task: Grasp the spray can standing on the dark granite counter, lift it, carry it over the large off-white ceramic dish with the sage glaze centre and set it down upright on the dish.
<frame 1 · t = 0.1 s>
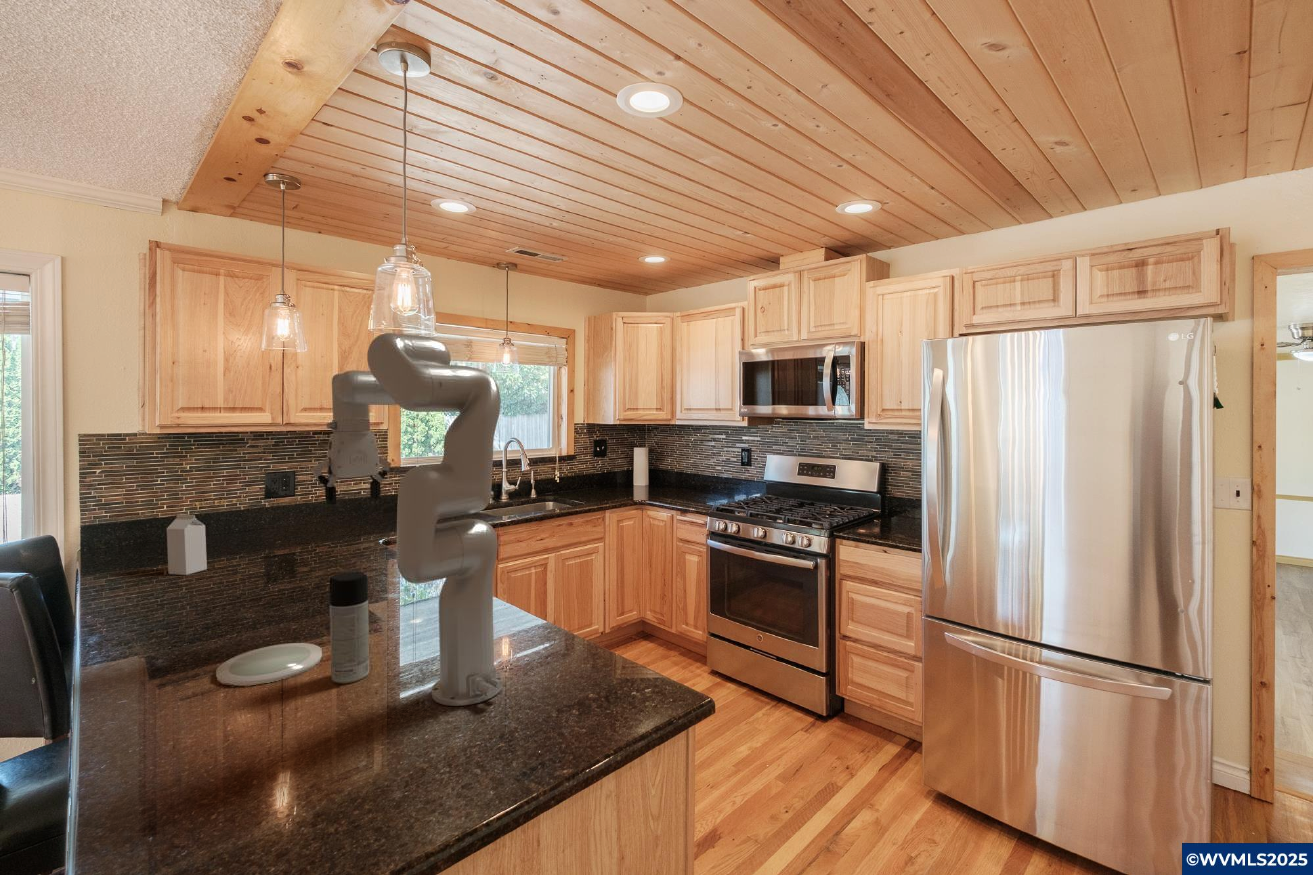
hand: (354, 501, 135), 31 cm above the counter, tool pointing down, fingers open, 9 cm apart
milk carton: (188, 572, 193), on the counter
dish: (271, 666, 120), on the counter
spray can: (351, 677, 114), on the counter
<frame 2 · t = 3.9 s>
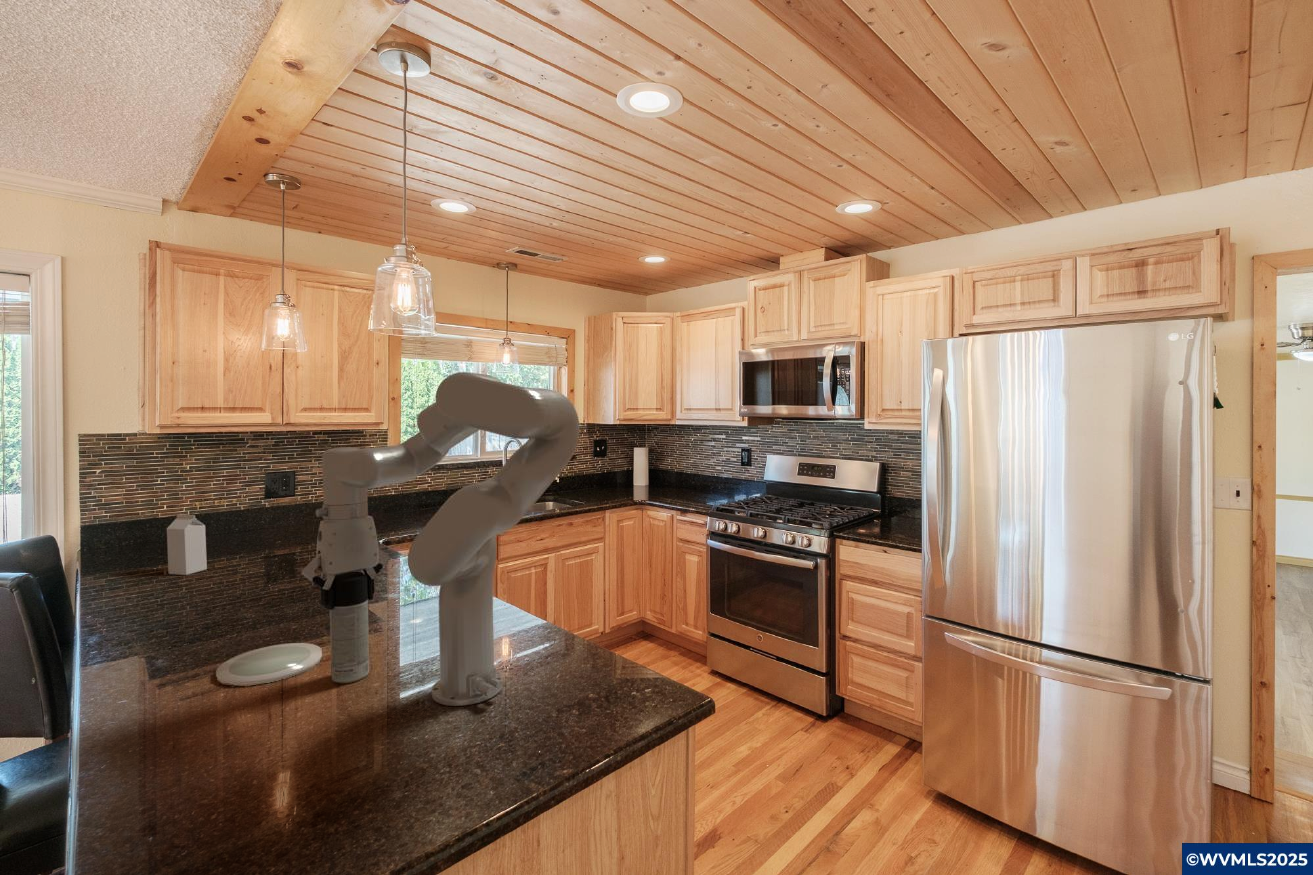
hand: (348, 602, 114), 15 cm above the counter, tool pointing down, fingers closed on spray can, 6 cm apart
spray can: (351, 677, 114), on the counter, touching gripper
everything else where it was.
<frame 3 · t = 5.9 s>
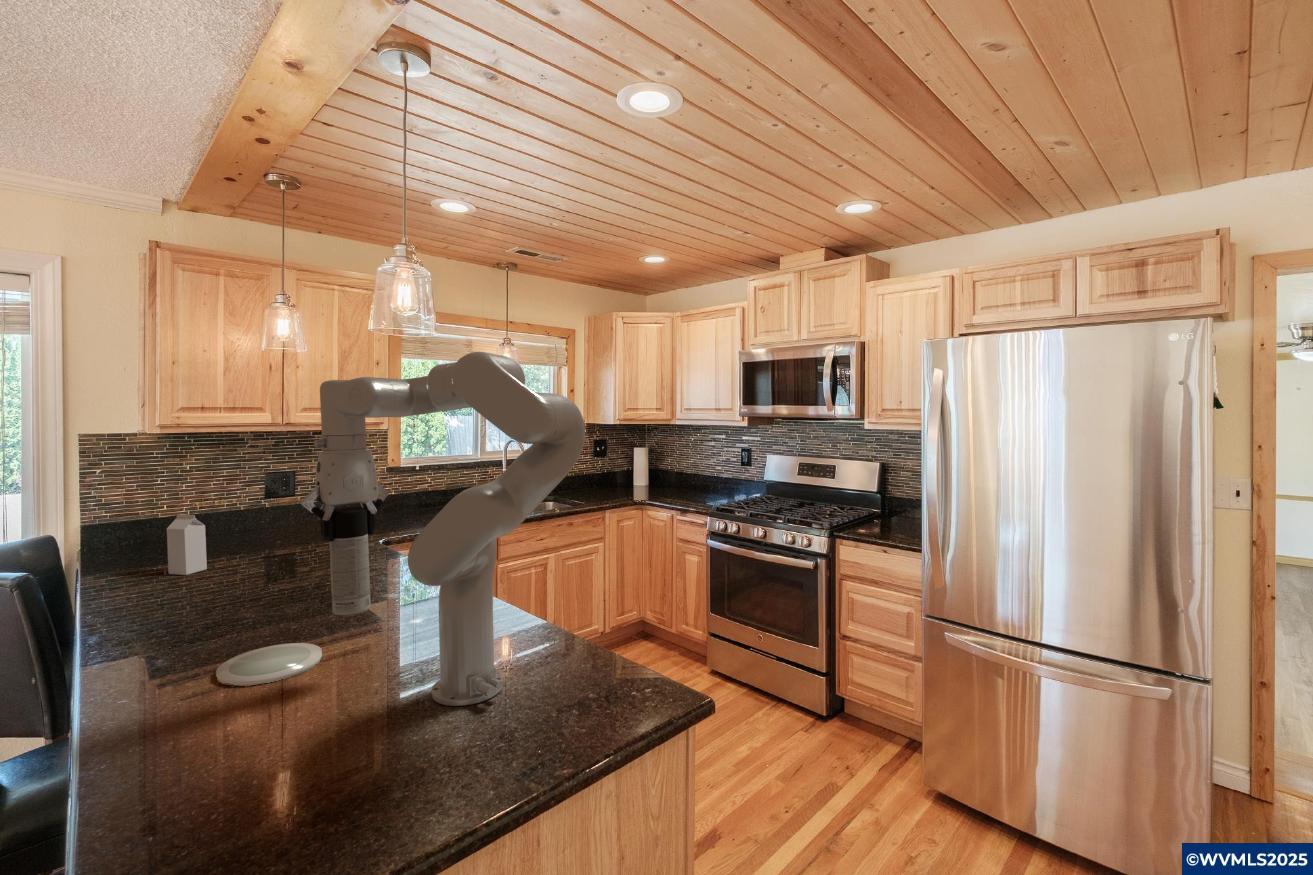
hand: (348, 536, 113), 28 cm above the counter, tool pointing down, fingers closed on spray can, 6 cm apart
spray can: (352, 612, 114), point 13 cm above the counter, touching gripper
everything else where it was.
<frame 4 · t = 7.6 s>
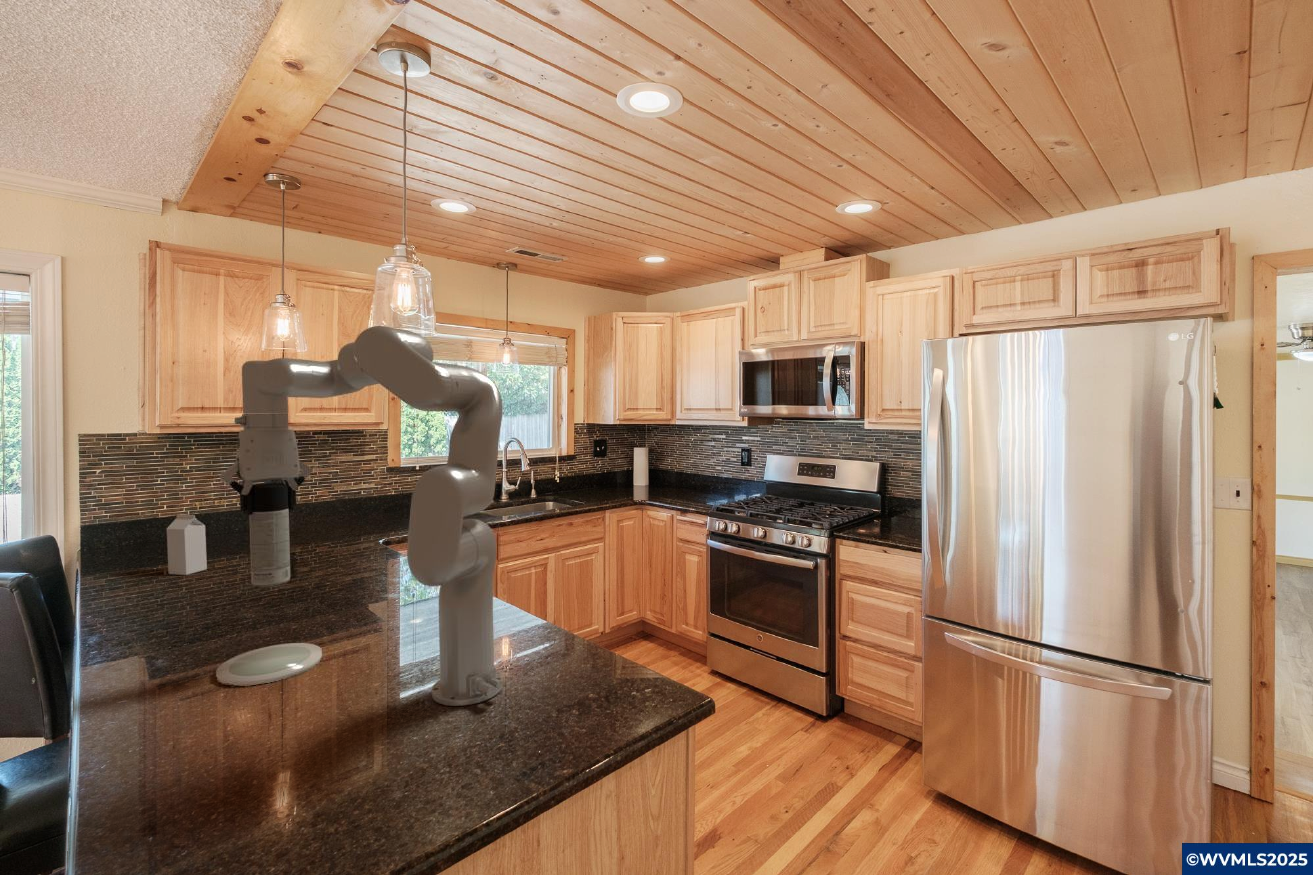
hand: (269, 510, 118), 32 cm above the counter, tool pointing down, fingers closed on spray can, 6 cm apart
spray can: (271, 583, 119), point 17 cm above the counter, touching gripper
everything else where it was.
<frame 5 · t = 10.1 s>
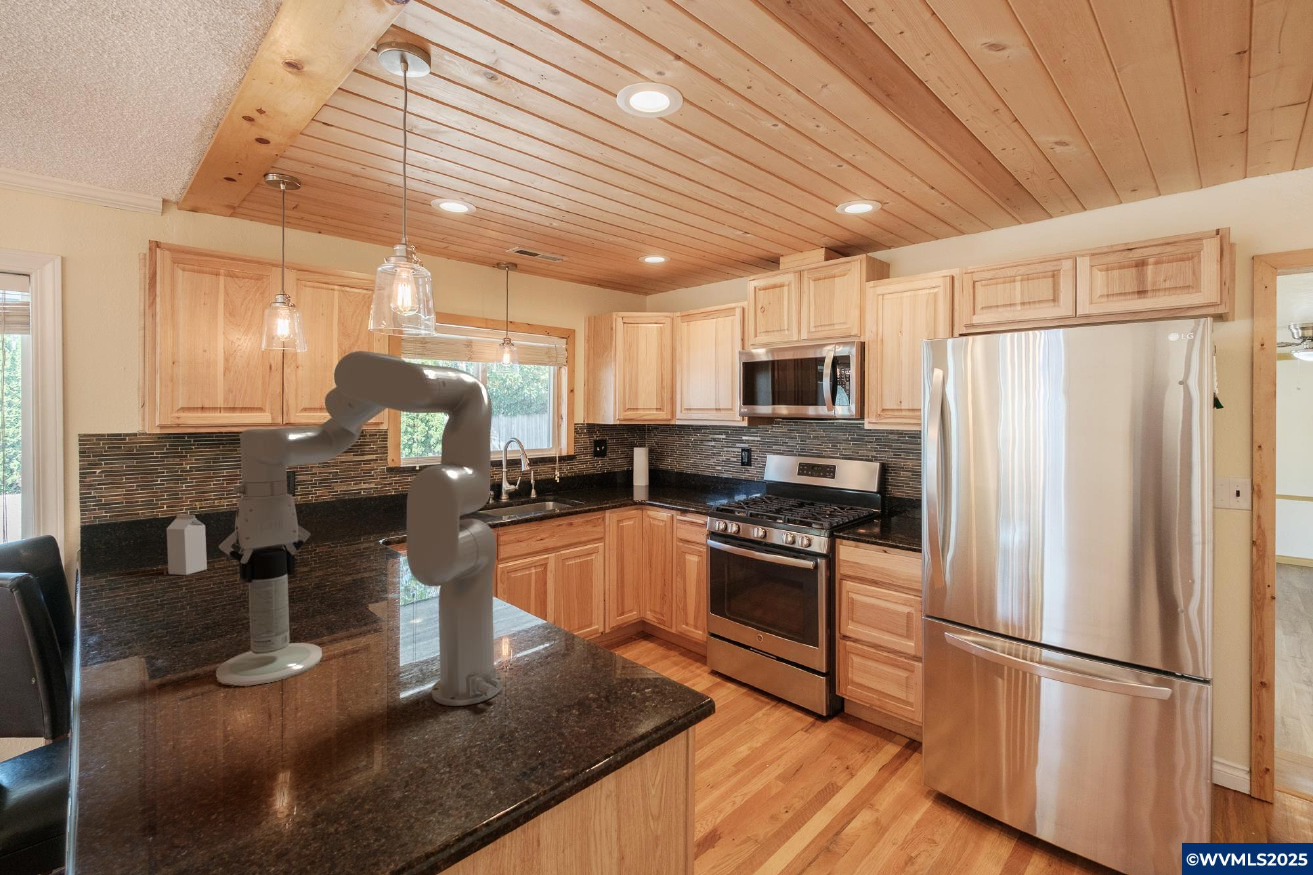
hand: (268, 576, 119), 18 cm above the counter, tool pointing down, fingers closed on spray can, 6 cm apart
spray can: (270, 648, 119), point 4 cm above the counter, touching gripper
everything else where it was.
when the fingers open (17 cm above the counter, at t = 11.3 s): spray can drops 1 cm, resting on dish.
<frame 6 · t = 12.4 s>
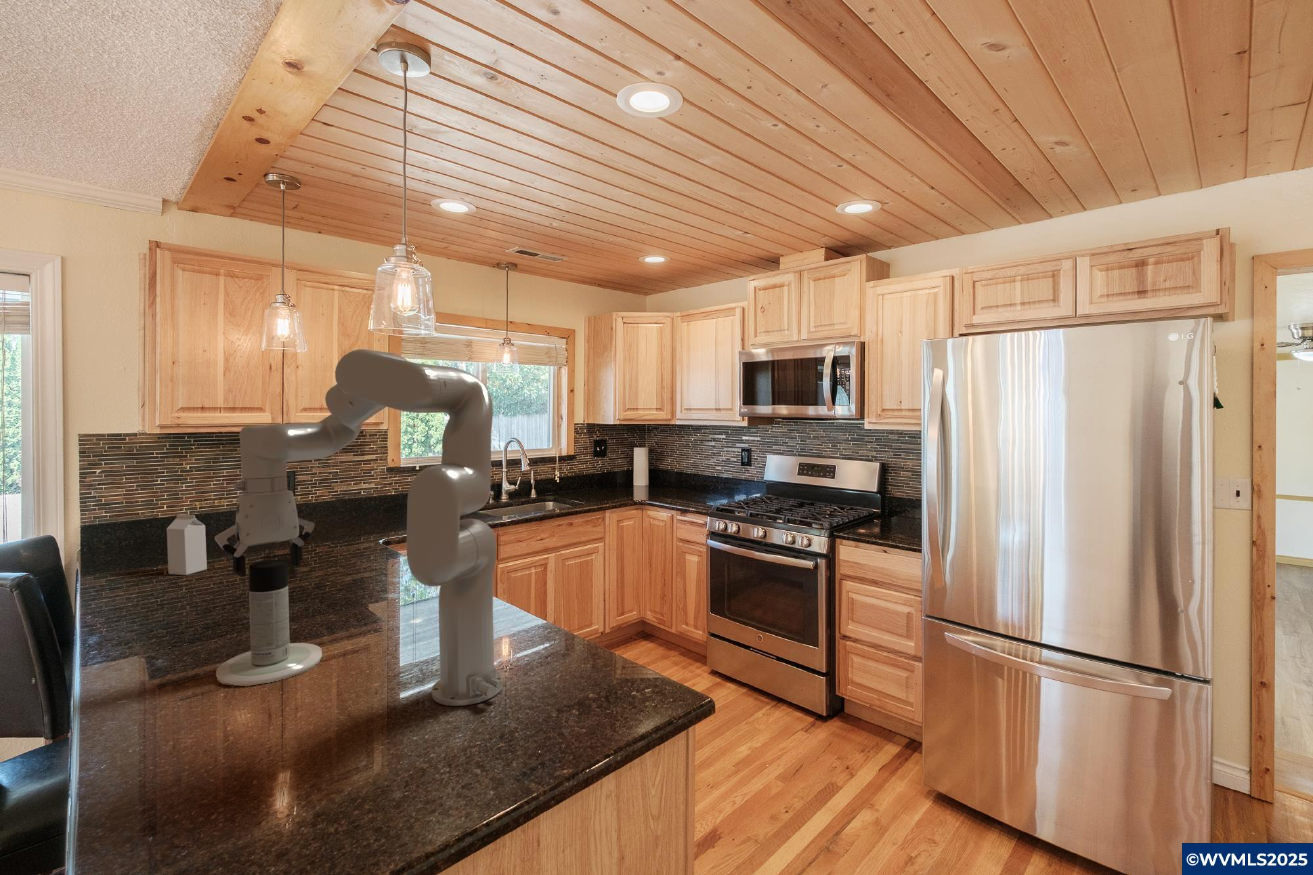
hand: (269, 570, 119), 20 cm above the counter, tool pointing down, fingers open, 9 cm apart
spray can: (271, 661, 119), point 1 cm above the counter, touching dish
everything else where it was.
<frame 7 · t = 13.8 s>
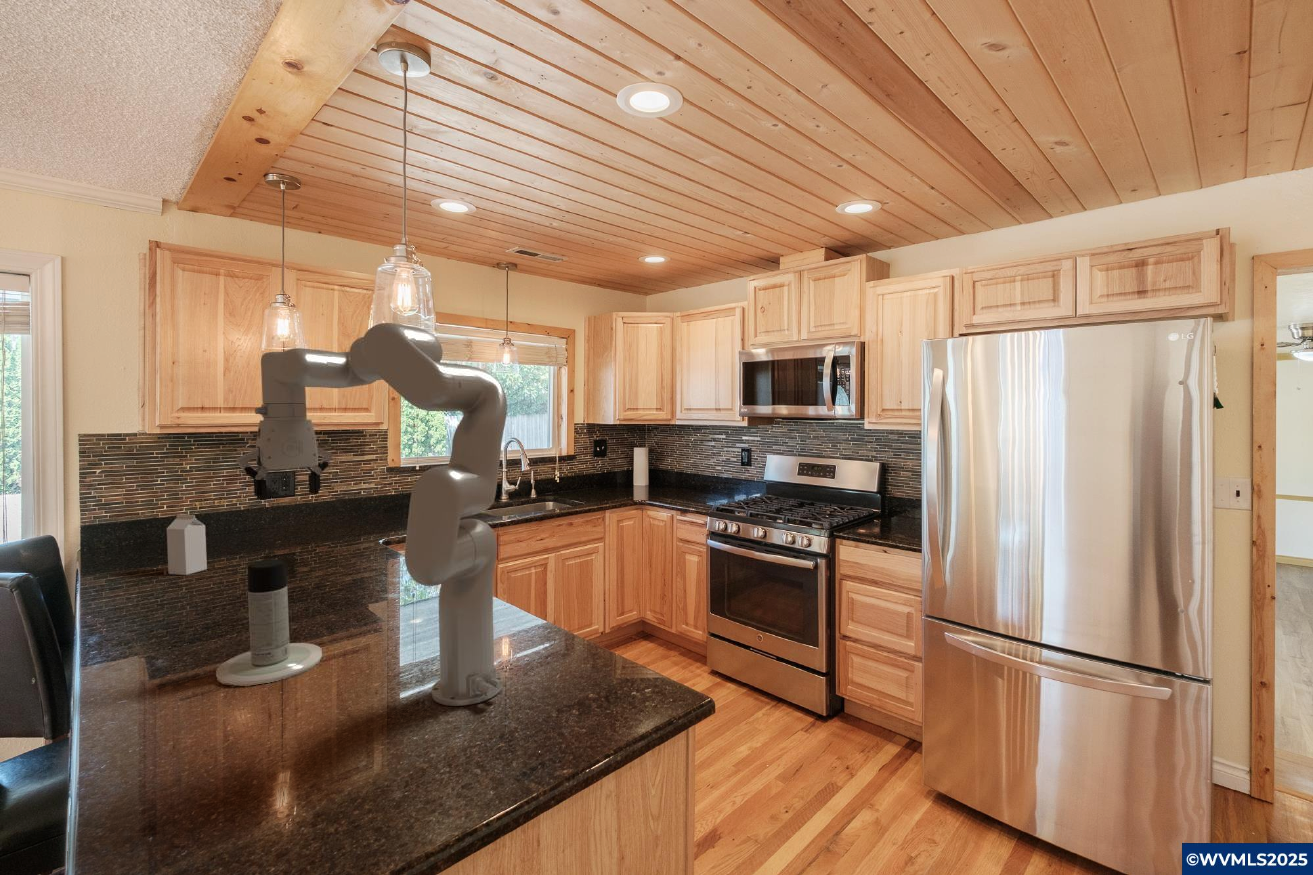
hand: (288, 496, 120), 35 cm above the counter, tool pointing down, fingers open, 9 cm apart
nothing on the counter moved.
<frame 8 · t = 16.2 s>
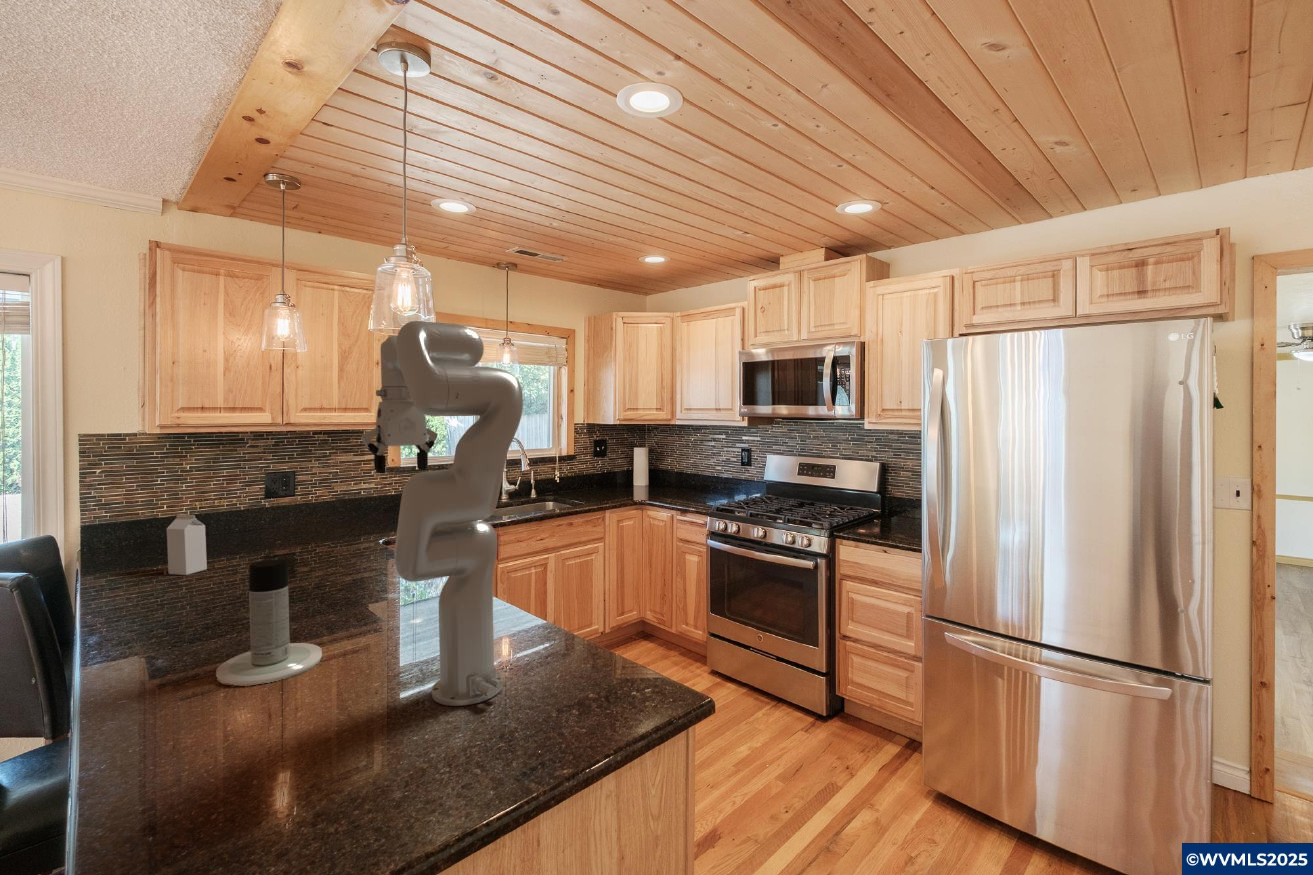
hand: (402, 471, 133), 38 cm above the counter, tool pointing down, fingers open, 9 cm apart
nothing on the counter moved.
at the end: spray can inside the target area on the dish (0.2 cm from its centre), point 1.1 cm above the dish's base; spray can tilted 1°; the gripper is holding nothing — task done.
